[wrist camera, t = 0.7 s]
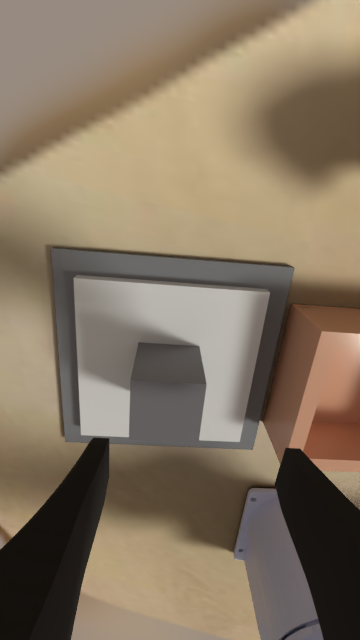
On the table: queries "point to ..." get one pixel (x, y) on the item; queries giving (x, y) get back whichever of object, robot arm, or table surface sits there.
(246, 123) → the table surface
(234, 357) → the lid
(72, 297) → the mat
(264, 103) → the table surface
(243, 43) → the table surface
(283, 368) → the dish
